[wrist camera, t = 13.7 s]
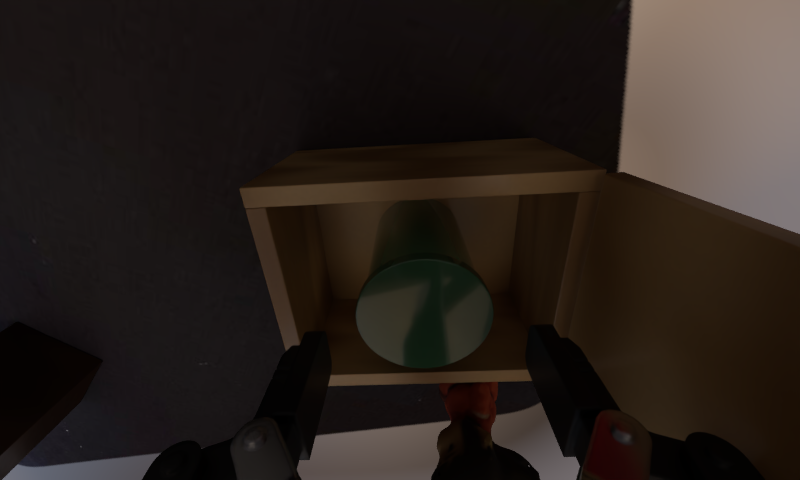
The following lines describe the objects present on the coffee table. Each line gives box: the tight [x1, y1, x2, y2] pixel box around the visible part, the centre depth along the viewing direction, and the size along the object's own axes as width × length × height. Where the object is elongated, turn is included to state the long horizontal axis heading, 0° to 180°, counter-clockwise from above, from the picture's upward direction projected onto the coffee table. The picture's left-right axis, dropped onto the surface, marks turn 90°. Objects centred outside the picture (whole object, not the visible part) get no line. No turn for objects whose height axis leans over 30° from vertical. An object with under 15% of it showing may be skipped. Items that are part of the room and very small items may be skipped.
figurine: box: [431, 382, 540, 480], centre depth 23 cm, size 6×6×12 cm
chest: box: [240, 138, 606, 386], centre depth 19 cm, size 15×12×8 cm
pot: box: [355, 199, 494, 368], centre depth 18 cm, size 6×6×8 cm
